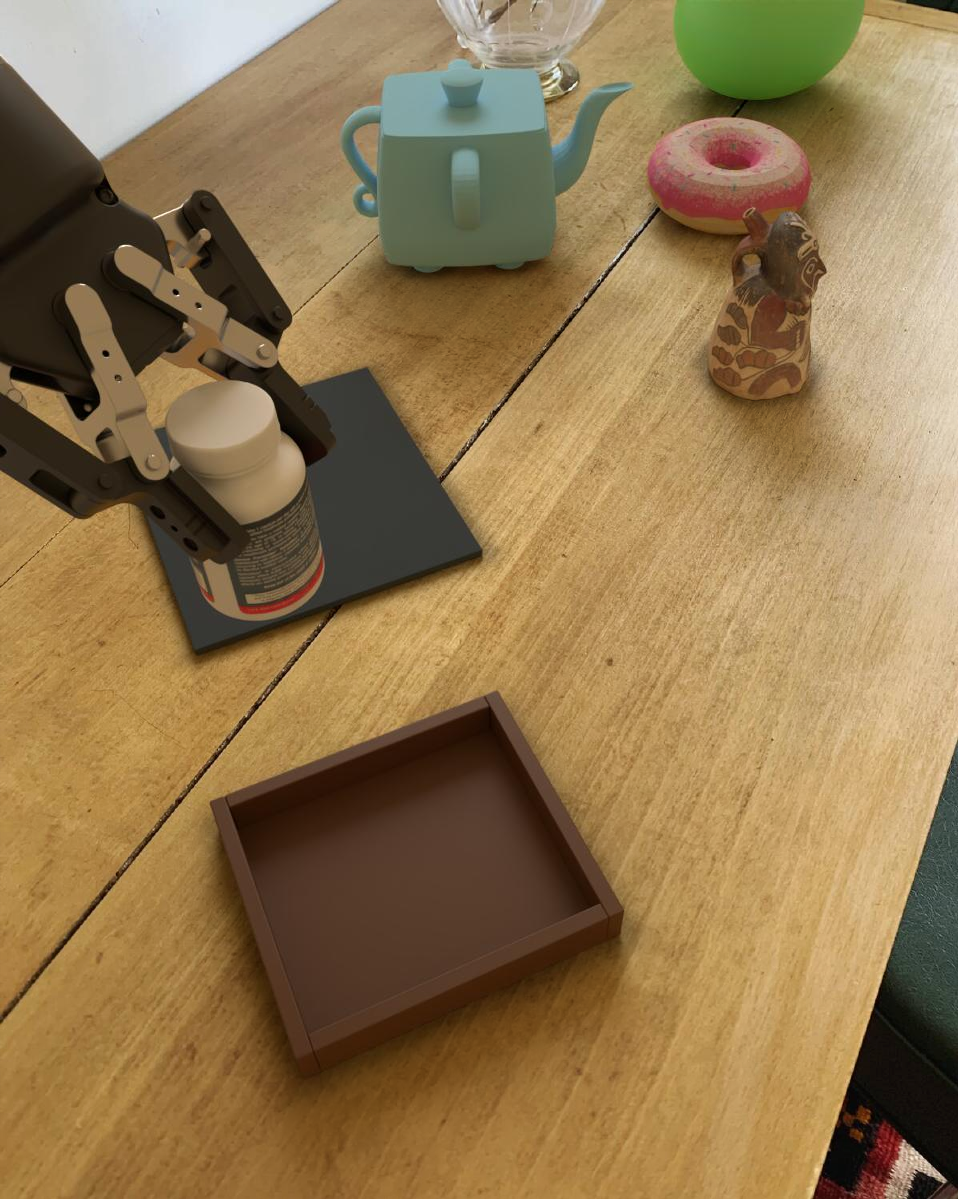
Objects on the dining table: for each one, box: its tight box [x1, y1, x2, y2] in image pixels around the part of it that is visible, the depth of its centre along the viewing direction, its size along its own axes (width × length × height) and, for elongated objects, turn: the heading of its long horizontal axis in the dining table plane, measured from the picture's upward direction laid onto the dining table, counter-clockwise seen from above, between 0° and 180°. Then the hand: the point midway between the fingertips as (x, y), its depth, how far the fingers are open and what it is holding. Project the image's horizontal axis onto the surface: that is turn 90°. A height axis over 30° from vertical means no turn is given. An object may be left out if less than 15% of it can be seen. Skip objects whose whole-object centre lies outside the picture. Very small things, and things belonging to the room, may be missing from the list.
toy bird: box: [672, 0, 866, 101], centre depth 102 cm, size 18×17×15 cm
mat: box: [144, 366, 484, 656], centre depth 71 cm, size 18×20×1 cm
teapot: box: [339, 58, 635, 273], centre depth 86 cm, size 18×16×14 cm
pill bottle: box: [164, 380, 324, 621], centre depth 43 cm, size 5×5×9 cm
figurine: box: [706, 207, 828, 401], centre depth 74 cm, size 7×7×12 cm
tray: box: [209, 690, 625, 1080], centre depth 53 cm, size 16×14×2 cm
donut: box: [646, 117, 813, 235], centre depth 92 cm, size 14×13×5 cm
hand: (279, 501), depth 42 cm, fingers closed on pill bottle, 5 cm apart
